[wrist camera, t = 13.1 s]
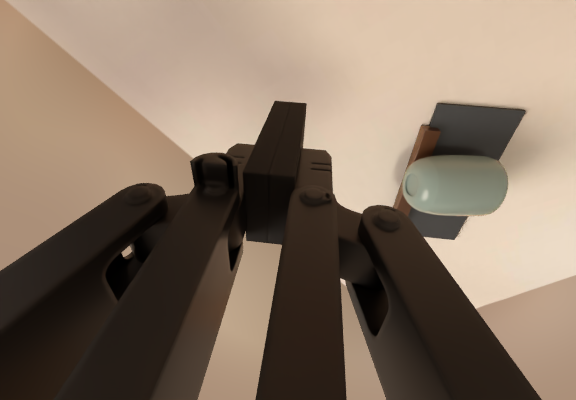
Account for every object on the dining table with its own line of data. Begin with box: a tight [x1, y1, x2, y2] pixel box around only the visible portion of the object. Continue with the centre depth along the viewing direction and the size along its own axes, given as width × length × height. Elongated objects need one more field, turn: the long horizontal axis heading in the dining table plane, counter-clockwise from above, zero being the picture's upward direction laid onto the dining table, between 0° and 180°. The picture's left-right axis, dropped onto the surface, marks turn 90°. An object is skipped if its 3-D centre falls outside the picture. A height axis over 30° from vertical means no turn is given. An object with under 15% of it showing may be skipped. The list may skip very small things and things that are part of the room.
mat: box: [408, 103, 526, 240], centre depth 42 cm, size 10×22×1 cm, turn 177°
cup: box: [402, 155, 508, 216], centre depth 36 cm, size 8×8×10 cm
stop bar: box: [393, 125, 441, 216], centre depth 41 cm, size 2×16×2 cm, turn 177°
